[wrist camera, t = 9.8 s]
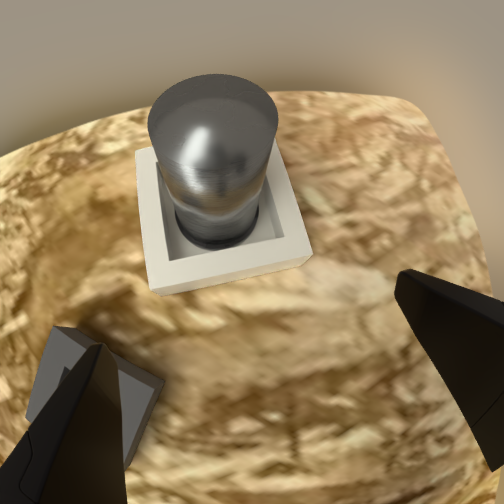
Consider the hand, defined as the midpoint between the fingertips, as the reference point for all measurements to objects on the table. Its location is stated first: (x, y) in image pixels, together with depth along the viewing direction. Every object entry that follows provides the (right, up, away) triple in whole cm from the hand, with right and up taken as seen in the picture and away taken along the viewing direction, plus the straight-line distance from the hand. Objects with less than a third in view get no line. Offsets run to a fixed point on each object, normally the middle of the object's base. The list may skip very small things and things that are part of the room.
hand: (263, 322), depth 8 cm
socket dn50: (-3, +4, +11) cm, 12 cm away
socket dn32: (-10, -8, +7) cm, 15 cm away
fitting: (-3, +4, +10) cm, 12 cm away
